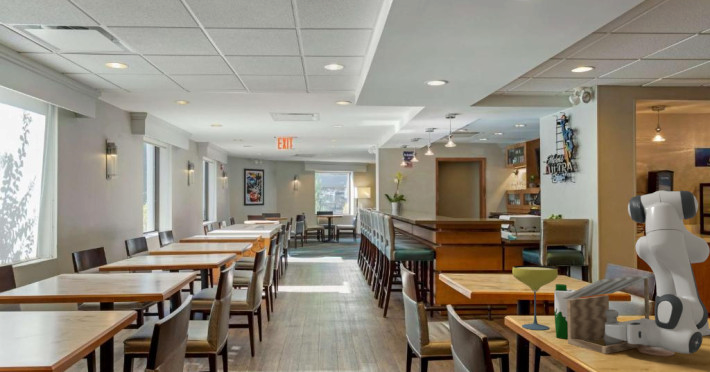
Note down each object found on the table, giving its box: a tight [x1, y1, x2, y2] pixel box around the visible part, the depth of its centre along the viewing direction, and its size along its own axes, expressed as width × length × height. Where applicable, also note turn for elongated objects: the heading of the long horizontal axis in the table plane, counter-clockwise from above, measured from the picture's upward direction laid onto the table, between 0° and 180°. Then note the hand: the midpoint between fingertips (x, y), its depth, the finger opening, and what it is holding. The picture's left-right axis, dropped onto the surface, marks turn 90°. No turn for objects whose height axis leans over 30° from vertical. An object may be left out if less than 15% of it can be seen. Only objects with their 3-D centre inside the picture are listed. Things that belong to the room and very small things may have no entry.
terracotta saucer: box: [637, 345, 675, 357], centre depth 176 cm, size 11×11×1 cm
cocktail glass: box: [512, 264, 559, 331], centre depth 214 cm, size 18×18×25 cm
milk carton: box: [554, 283, 581, 340], centre depth 197 cm, size 9×9×20 cm
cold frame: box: [563, 274, 650, 355], centre depth 186 cm, size 28×16×25 cm, turn 118°
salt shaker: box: [602, 308, 623, 346], centre depth 184 cm, size 6×6×13 cm
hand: (609, 324), depth 185 cm, fingers closed on salt shaker, 3 cm apart
